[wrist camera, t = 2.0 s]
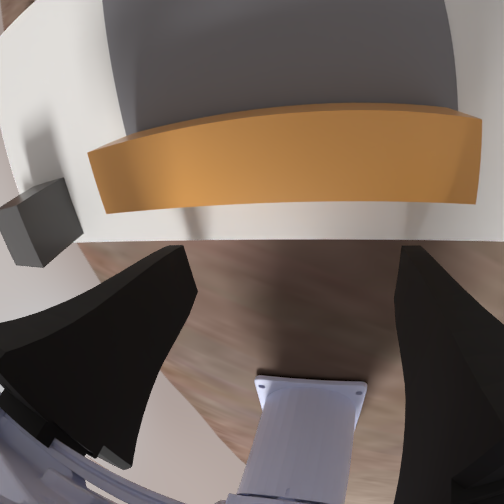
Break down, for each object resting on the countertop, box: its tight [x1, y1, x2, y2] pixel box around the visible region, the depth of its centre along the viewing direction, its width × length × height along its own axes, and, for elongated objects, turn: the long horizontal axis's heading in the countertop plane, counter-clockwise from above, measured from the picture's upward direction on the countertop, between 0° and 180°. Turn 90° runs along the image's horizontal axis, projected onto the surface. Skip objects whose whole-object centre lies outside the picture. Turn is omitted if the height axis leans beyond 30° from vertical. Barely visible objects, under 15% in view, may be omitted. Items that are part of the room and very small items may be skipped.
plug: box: [0, 177, 84, 268], centre depth 12 cm, size 4×3×3 cm
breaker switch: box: [87, 103, 482, 214], centre depth 7 cm, size 2×10×2 cm, turn 99°
